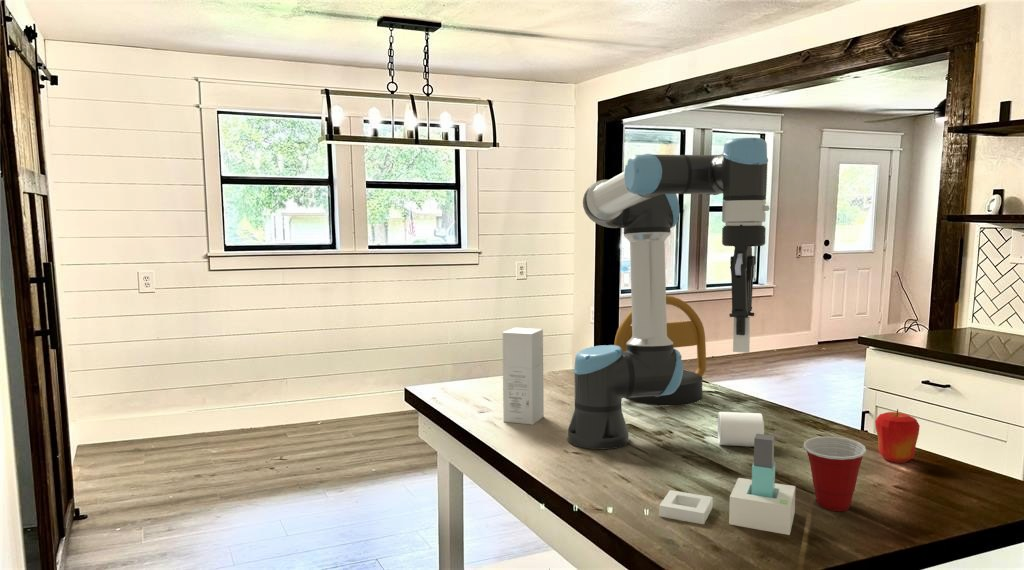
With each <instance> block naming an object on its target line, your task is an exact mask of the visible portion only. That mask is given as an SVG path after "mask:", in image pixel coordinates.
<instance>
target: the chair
mask: <svg viewBox="0 0 1024 570" xmlns="http://www.w3.org/2000/svg"><path fill="white" fill-rule="evenodd" d="M666 305H668V306H669V305H670V306H672V307H673V306H674V307H676V308H678V309H680V310H681V311H682V312H683V313H684V314H685V315H686V316H687V317H688V319H689V320H687V321H684V320H683V321H672V322H671V321H670V322H667V337H668V338H669V339H670V340H671V341H672V342H673V348H675V349H676V348H684V347H685V348H686V347H694V346H696V354H697V355H696V356H697V357H696V360H697V367H696V370H695V372H693V371H689V370H685V369H683V375H682V380H681V383H680V385H679V387H678V388H677V390H676V391H675V392H674V393H672V394H670V395H662V396H659V397H655V396H645V397H631V398H625V399H626V400H627V401H631V402H634V403H638V404H643V405H650V406H651V405H652V406H661V405H676V406H686V404H687V405H691V403H692V404H695V402H696V403H697V401H698V402H700V401H701V400H702V399H703V376H704V375H705V373H706V371H707V352H706V351H707V349H706V347H707V345H706V344H707V343H706V333H705V328H704V325H703V321H702V320H701V318H700V317H699V315H698V314H697V313H696V311H695V310H694V309H693V308H692V306H691V305H689V304H688V303H687V302H685V301H684V300H682V299H681V298H679V297H675V296H672V295H667V294H666ZM631 338H632V308H631V309H630V310H629V312H627V314H626V315H625V317H624V319H623V320H622V322H621V323H620V324H619V326H618V328H617V330H616V334H615V338H614V344H613V345H616V346H619V347H621V349H622V351H627V342H628V341H629V340H630V339H631ZM699 400H700V401H699Z"/></svg>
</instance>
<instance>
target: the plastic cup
mask: <svg viewBox="0 0 1024 570" xmlns="http://www.w3.org/2000/svg"><path fill="white" fill-rule="evenodd" d="M803 448H804V450H805V451H806V453H807V457H808V460H809V463H810V469H811V470H810V471H811V477H812V482H813V488H814V492H815V493H814V494H815V501H816V504H817V505H818V507H820V508H823V509H825V510H829V511H833V512H844V511H848V510H849V509H850V506H851V505H852V501H853V495H854V493H855V490H856V484H857V481H858V476H859V471H860V467H861V463H862V460H863V458H864V455H865V454H866V452H867V448H866V446H865V445H864V444H862V443H861V442H859V441H857V440H854V439H852V438H846V437H840V436H827V435H826V436H816V437H812V438H808V439H807V440H805V441H804V442H803Z"/></svg>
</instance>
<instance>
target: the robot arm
mask: <svg viewBox="0 0 1024 570" xmlns="http://www.w3.org/2000/svg"><path fill="white" fill-rule="evenodd" d="M768 162H769V158H768V143H767V141H766V140H765V139H764V138H761V137H738V138H731V139H728V140H726V141H725V143H724V144H723V151H722V153H720V154H651V153H644V154H634V155H631V156H630V157H629V158H628V159H627V163H626V164H625V167H624V171H622V172H621V173H619V174H617V175H615V176H613V177H612V178H610V179H601V180H597V181H596V182H594V183H593V184H591V185H590V186H589V187H588V188H587V190H585V193H584V194H583V198H582V207H583V210H584V213H585V215H586V216H587V217H588V218H589V219H590V220H591V221H592V222H593V223H596V224H597V225H599V226H602V227H605V228H610V229H623V237H624V238H626V239H627V241H628V242H629V249H630V250H629V251H630V252H629V253H630V254H629V255H630V259H629V260H630V289H631V291H630V293H631V295H630V296H631V297H630V298H631V299H630V300H631V309H632V324H631V326H632V338H631V339H630V340H629V341H628V342H627V351H622V349H621V347H619V346H616V345H614V344H608V345H606V344H604V345H595V346H590V347H587V348H584V349H581V350H580V351H578V352H577V353H576V355H575V357H574V367H573V368H574V369H573V373H574V410H573V413H572V416H571V420H570V422H569V425H568V429H567V441H568V442H569V443H571V445H574V446H576V447H579V448H585V449H592V450H609V449H617V448H620V447H624V446H626V445H627V444H628V443H629V441H630V440H629V434H630V433H629V430H628V429H629V428H628V426H627V423H626V421H625V417H624V414H623V411H622V408H623V407H622V399H626V398H631V397H645V396H655V397H659V396H662V395H670V394H672V393H674V392H675V391H676V390H677V388H678V387H679V385H680V383H681V380H682V375H683V370H684V361H683V359H682V354H681V352H680V351H679V350H678V349H676V348H673V342H672V341H671V340H670V339H669V338H668V337H667V323H668V322H667V304H666V295H667V292H666V290H667V289H666V280H667V279H666V250H665V249H666V248H665V247H666V244H665V242H666V240H667V239H668V237H670V235H672V234H671V232H672V230H671V229H672V228H673V227H675V226H676V225H677V224H678V223H679V218H680V203H679V199H678V196H677V195H706V196H717V195H720V194H722V209H721V210H722V211H721V212H722V213H721V214H722V216H721V222H723V223H725V225H723V227H722V234H721V244H722V246H726V247H734V250H733V251H734V252H733V255H731V256H730V266H729V269H730V275H731V278H730V279H731V313H729V317H730V318H733V329H732V330H733V333H732V334H733V335H732V336H733V338H732V339H733V341H732V352H733V353H743V354H744V353H746V354H748V353H750V342H751V341H750V340H751V338H750V337H751V335H750V334H751V317H755V312H752V310H753V306H752V304H753V289H754V288H753V287H754V285H753V284H754V277H755V265H756V260H757V258H756V255H753V247H761V246H764V245H766V231H767V229H766V228H767V227H765V225H763V223H765V222H766V217H767V216H766V215H767V213H766V212H769V210H770V209H771V208H770V205H766V204H767V202H766V200H767V185H768V184H767V181H768Z"/></svg>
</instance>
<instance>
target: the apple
mask: <svg viewBox="0 0 1024 570" xmlns="http://www.w3.org/2000/svg"><path fill="white" fill-rule="evenodd" d="M874 423H875V431H876V436H877V440H878V441H877V443H878V444H877V446H878V447H877V448H878V452H879V453H880V455H881V456H882V458H883V459H884V460H885V461H889V462H891V463H894V464H897V463H898V464H904V463H906V462H907V463H908V461H910V460H911V459H913V458H914V457H915V452H916V446H917V442H918V439H919V434H920V427H921V426H920V424H919V422H918V420H917V419H916V418H915V417H913V416H911V415H908V414H905V413H902V412H899V408H897V409H896V411H887V412H883V413H880V414H879V415H878V416H877V418H875V422H874Z"/></svg>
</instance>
